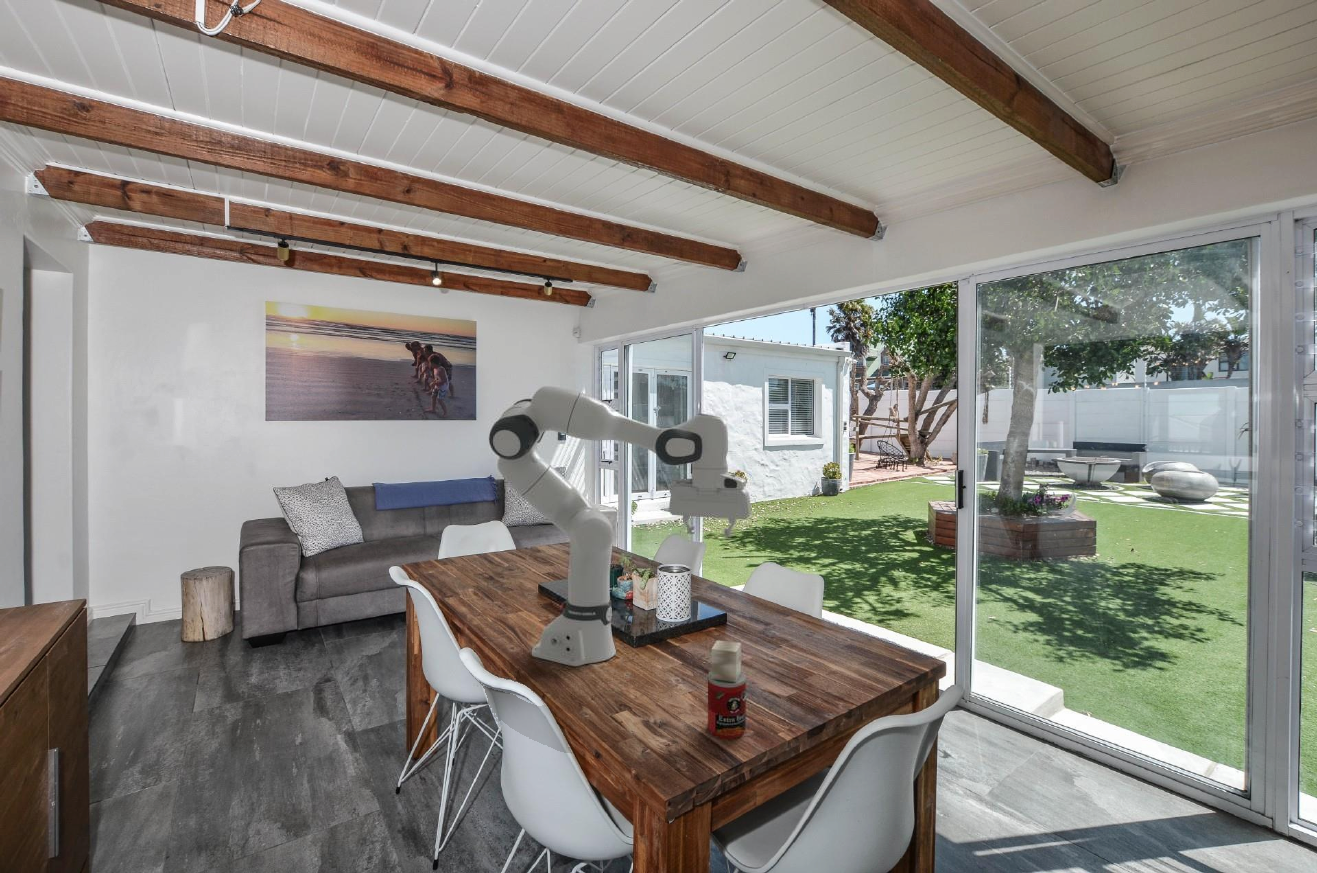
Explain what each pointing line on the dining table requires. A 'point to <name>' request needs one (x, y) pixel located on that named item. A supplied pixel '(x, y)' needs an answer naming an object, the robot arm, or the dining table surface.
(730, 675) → the birch block
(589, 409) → the robot arm
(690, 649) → the dining table surface
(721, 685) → the canned food
